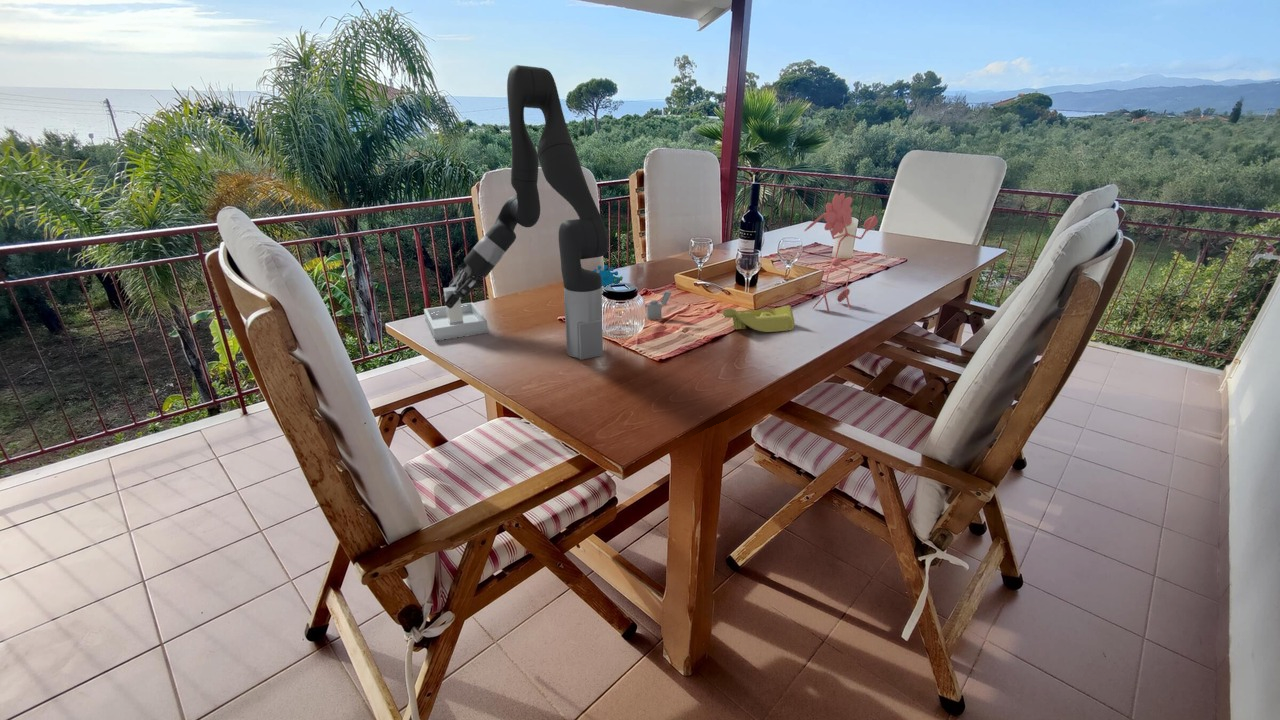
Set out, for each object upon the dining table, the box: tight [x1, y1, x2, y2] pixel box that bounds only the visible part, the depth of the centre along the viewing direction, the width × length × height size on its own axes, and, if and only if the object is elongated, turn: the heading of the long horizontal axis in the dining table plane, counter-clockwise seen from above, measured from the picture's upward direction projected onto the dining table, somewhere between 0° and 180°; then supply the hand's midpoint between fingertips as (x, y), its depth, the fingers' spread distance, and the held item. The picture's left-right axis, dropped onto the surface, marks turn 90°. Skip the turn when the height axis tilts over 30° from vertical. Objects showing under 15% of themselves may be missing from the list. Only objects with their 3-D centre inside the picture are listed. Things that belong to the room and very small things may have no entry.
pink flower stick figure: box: [795, 192, 879, 313], centre depth 170 cm, size 15×26×35 cm, turn 118°
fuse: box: [442, 286, 463, 325], centre depth 152 cm, size 4×4×10 cm
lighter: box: [646, 289, 672, 320], centre depth 163 cm, size 7×2×8 cm, turn 106°
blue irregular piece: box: [592, 264, 624, 287], centre depth 191 cm, size 11×6×10 cm
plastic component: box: [721, 305, 795, 333], centre depth 156 cm, size 20×7×10 cm
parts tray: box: [423, 302, 489, 342], centre depth 154 cm, size 18×14×4 cm
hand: (445, 303), depth 151 cm, fingers open, 4 cm apart
